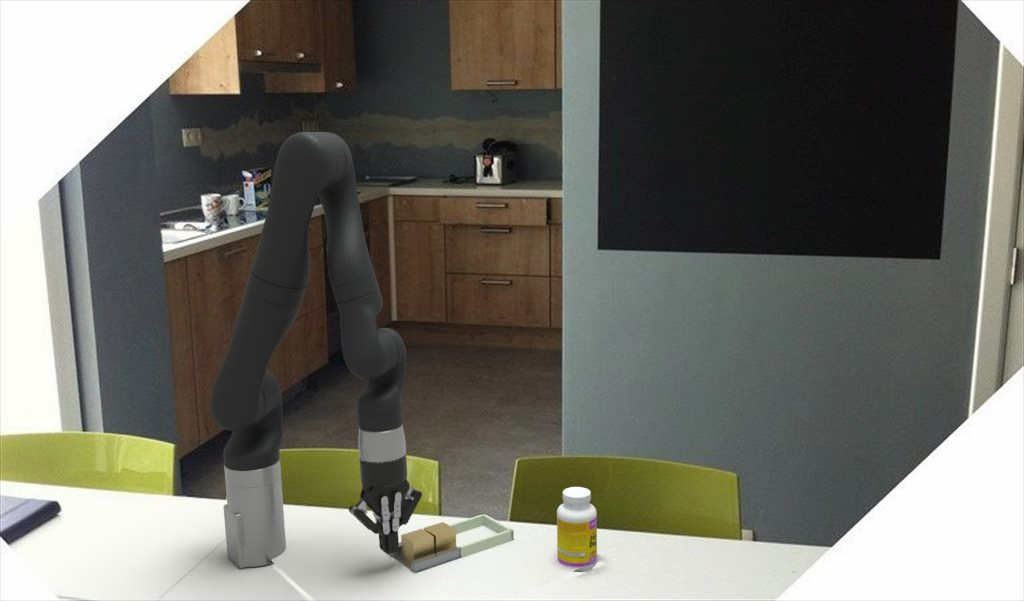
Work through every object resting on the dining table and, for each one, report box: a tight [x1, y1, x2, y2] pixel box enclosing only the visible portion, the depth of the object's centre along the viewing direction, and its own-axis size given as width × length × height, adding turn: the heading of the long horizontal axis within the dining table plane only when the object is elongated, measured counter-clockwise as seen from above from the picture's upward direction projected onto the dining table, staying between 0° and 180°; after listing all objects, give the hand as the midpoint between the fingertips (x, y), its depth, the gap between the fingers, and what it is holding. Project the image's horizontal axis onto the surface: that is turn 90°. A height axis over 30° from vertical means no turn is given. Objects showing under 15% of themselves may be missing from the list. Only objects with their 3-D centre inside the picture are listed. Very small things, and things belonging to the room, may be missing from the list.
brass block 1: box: [400, 528, 434, 563], centre depth 160 cm, size 4×4×4 cm
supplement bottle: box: [556, 486, 598, 573], centre depth 158 cm, size 7×7×13 cm
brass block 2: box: [422, 521, 457, 553], centre depth 163 cm, size 4×4×4 cm
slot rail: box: [389, 542, 463, 574], centre depth 161 cm, size 9×9×2 cm
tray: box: [448, 513, 515, 558], centre depth 167 cm, size 11×9×3 cm
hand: (389, 551), depth 157 cm, fingers closed
